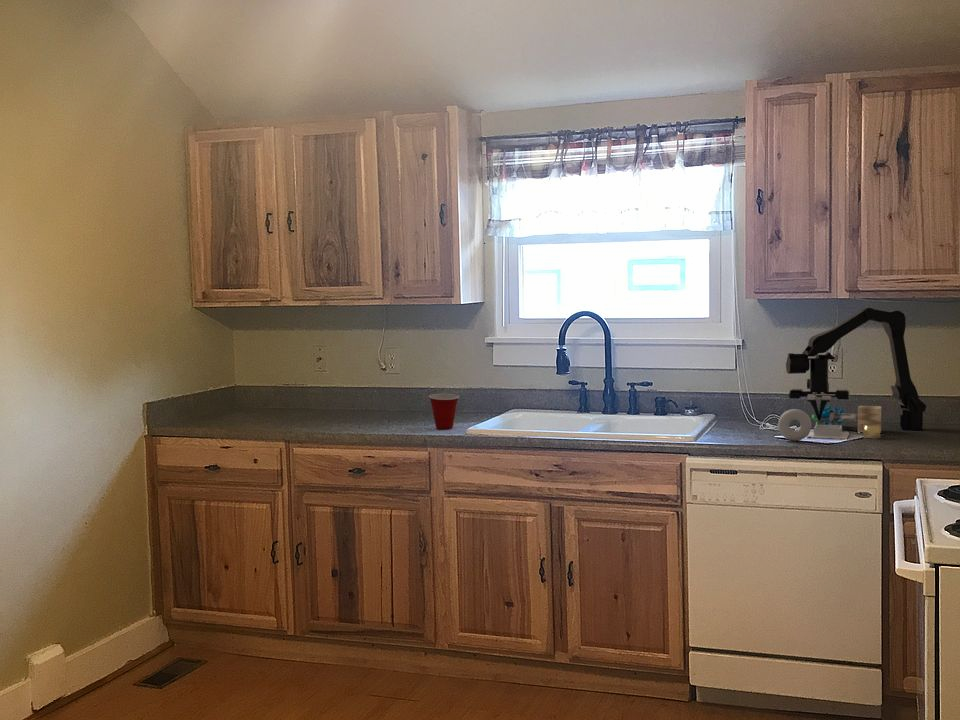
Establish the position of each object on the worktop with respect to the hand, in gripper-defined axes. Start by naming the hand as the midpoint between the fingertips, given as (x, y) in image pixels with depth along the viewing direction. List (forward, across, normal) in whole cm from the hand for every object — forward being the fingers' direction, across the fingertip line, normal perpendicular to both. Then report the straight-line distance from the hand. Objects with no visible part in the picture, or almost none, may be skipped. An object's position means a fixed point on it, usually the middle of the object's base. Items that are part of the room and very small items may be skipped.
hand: (819, 419), depth 333 cm
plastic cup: (+3, +123, +30) cm, 127 cm away
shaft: (+1, -9, 0) cm, 10 cm away
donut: (+4, +5, +27) cm, 28 cm away
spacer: (+4, -17, +14) cm, 22 cm away
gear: (+4, -3, -10) cm, 11 cm away
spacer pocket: (+3, -4, +14) cm, 15 cm away
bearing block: (+3, -16, 0) cm, 16 cm away
